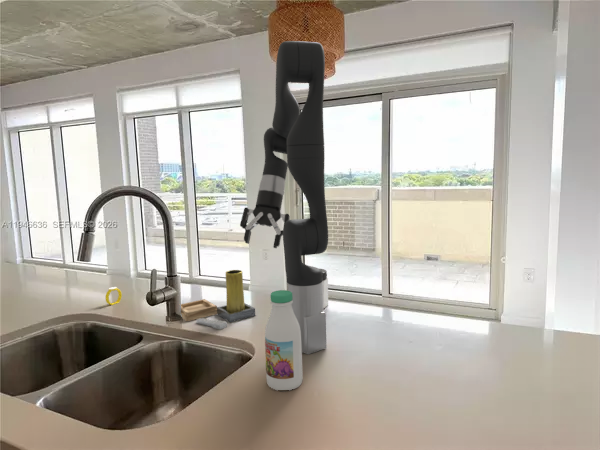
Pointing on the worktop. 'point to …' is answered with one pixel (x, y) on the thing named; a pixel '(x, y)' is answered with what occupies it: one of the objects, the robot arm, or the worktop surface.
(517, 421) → the worktop surface
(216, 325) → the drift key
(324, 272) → the jar
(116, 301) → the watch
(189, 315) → the wooden tray
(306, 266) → the robot arm
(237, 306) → the vase
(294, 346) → the milk bottle
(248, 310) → the grey square shallow tray
